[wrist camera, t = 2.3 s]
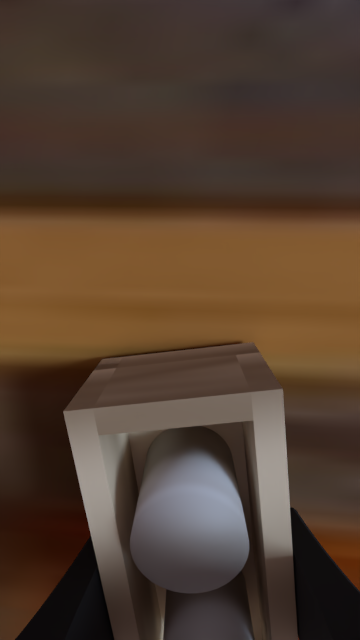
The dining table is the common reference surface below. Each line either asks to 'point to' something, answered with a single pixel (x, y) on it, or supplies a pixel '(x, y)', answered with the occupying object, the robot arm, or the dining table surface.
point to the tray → (120, 471)
